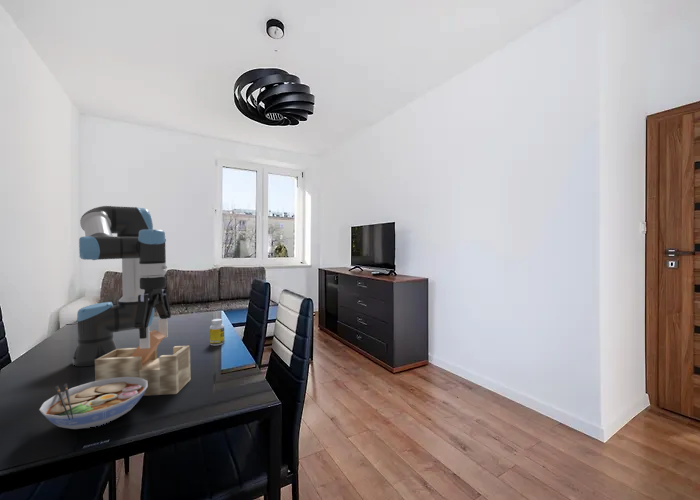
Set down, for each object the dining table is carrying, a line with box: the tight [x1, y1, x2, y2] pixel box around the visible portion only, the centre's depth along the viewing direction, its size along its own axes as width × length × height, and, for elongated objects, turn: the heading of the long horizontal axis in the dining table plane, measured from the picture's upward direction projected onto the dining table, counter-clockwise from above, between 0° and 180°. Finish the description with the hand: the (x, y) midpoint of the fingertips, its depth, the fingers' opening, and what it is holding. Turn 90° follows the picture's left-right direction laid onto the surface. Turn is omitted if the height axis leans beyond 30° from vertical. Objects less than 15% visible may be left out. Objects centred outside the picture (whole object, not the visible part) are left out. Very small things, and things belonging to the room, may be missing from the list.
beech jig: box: [94, 345, 192, 397], centre depth 105 cm, size 24×11×12 cm, turn 95°
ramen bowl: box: [38, 377, 148, 430], centre depth 86 cm, size 25×23×8 cm
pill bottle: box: [209, 318, 226, 346], centre depth 154 cm, size 6×6×12 cm
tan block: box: [131, 329, 165, 364], centre depth 105 cm, size 20×4×4 cm
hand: (154, 342), depth 106 cm, fingers open, 11 cm apart
